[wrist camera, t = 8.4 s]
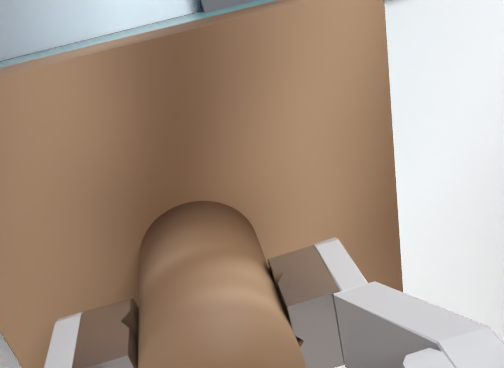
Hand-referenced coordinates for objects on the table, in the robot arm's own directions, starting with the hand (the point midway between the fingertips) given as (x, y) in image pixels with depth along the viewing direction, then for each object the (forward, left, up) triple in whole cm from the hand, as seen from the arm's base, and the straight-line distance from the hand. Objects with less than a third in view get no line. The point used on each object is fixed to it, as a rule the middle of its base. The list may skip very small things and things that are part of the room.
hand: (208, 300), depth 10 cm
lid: (0, 0, -3) cm, 3 cm away
